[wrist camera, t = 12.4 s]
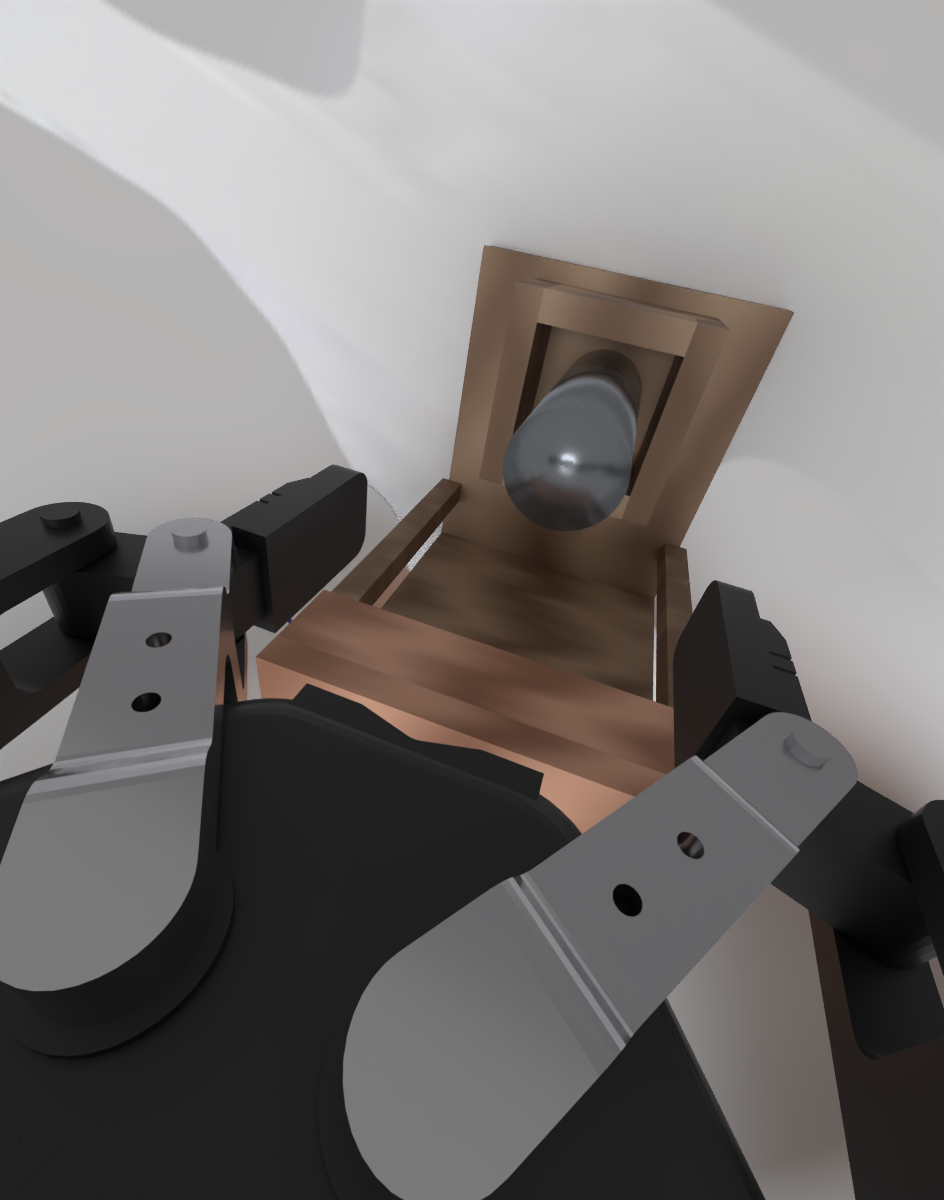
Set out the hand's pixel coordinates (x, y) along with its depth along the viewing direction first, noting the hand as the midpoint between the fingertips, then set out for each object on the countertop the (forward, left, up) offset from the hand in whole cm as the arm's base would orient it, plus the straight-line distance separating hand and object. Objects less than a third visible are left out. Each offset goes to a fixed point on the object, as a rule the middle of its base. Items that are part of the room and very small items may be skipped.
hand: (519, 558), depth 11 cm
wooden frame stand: (0, +4, -19) cm, 19 cm away
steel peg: (0, 0, -18) cm, 18 cm away
